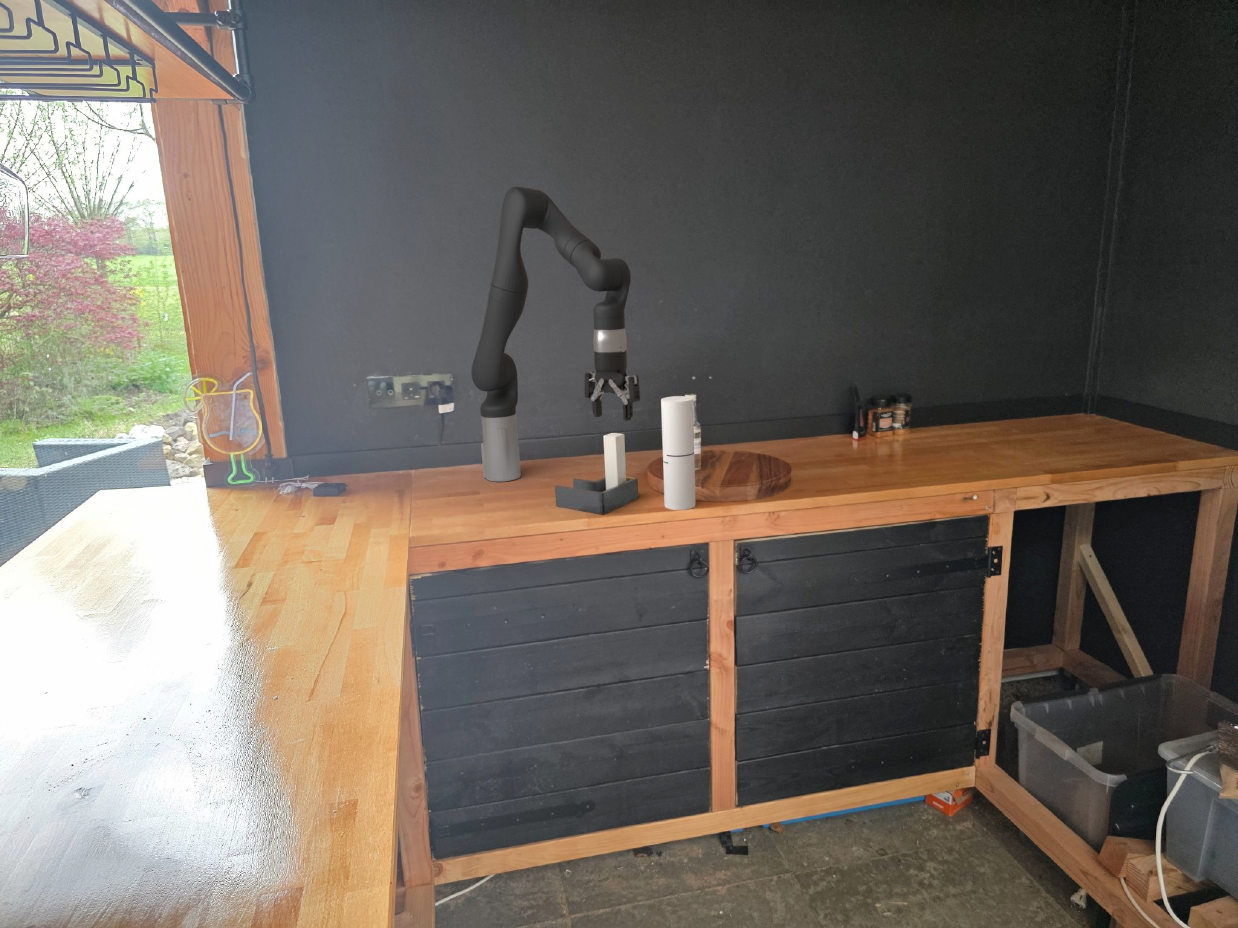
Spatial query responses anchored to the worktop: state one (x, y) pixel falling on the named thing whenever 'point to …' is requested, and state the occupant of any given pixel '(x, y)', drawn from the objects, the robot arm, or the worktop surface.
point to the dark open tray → (596, 495)
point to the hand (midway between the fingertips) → (612, 418)
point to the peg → (614, 459)
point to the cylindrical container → (678, 452)
